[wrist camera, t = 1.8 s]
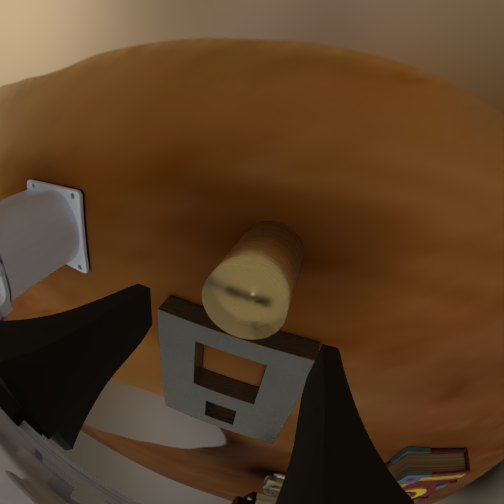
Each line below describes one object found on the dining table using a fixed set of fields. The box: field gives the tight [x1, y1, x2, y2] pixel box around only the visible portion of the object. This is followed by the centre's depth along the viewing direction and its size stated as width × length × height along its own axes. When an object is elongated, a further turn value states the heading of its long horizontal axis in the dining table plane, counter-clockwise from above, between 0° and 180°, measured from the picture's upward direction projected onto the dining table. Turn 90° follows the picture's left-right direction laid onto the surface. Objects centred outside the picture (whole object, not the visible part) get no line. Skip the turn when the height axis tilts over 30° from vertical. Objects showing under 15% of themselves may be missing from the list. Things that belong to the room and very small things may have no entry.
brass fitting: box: [202, 221, 303, 340], centre depth 15 cm, size 4×4×6 cm
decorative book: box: [386, 447, 470, 503], centre depth 24 cm, size 11×16×5 cm
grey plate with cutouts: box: [158, 295, 320, 443], centre depth 23 cm, size 12×14×2 cm
